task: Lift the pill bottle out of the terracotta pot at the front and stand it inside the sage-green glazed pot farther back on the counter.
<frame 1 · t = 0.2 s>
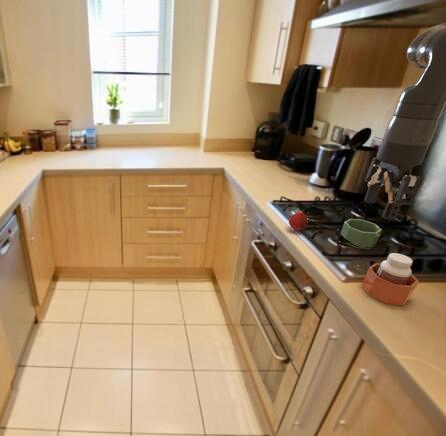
hand: (378, 210, 72), 25 cm above the worktop, tool pointing down, fingers open, 8 cm apart
pill bottle: (384, 292, 84), resting in terracotta pot
green pot: (356, 241, 107), on the worktop
terracotta pot: (384, 292, 84), on the worktop
onion: (295, 231, 114), on the worktop
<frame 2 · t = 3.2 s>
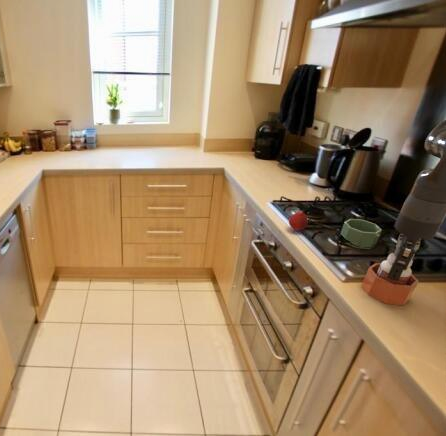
hand: (394, 272, 81), 7 cm above the worktop, tool pointing down, fingers closed on pill bottle, 6 cm apart
pill bottle: (384, 292, 84), resting in terracotta pot, touching gripper
everything else where it was.
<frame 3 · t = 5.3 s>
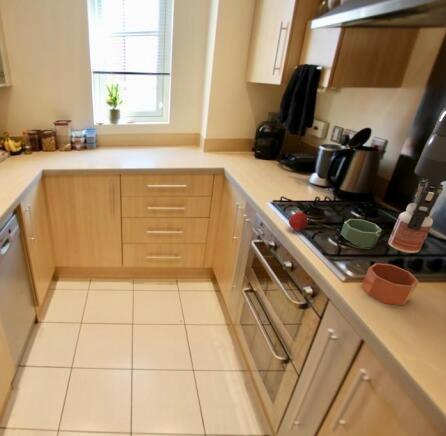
hand: (413, 223, 76), 20 cm above the worktop, tool pointing down, fingers closed on pill bottle, 6 cm apart
pill bottle: (402, 247, 79), point 13 cm above the worktop, touching gripper
everything else where it was.
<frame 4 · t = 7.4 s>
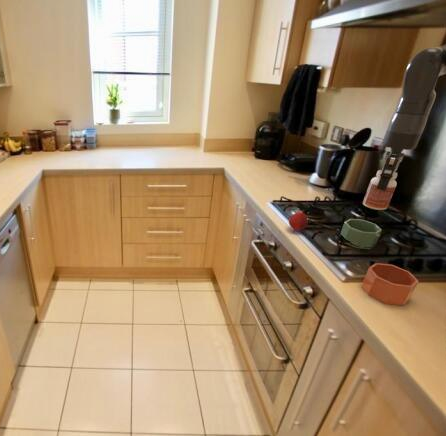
hand: (382, 186, 94), 21 cm above the worktop, tool pointing down, fingers closed on pill bottle, 6 cm apart
pill bottle: (373, 206, 98), point 14 cm above the worktop, touching gripper
everything else where it was.
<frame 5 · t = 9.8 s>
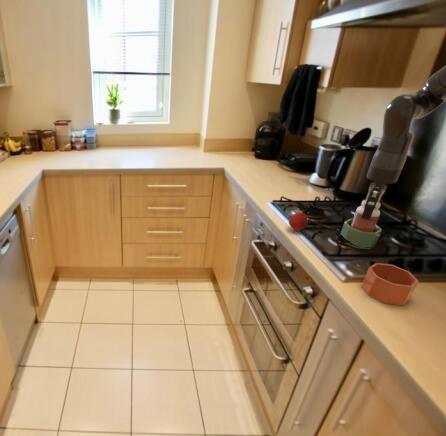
hand: (367, 214, 102), 10 cm above the worktop, tool pointing down, fingers closed on pill bottle, 6 cm apart
pill bottle: (359, 233, 105), point 3 cm above the worktop, touching gripper
everything else where it was.
when the fingers open (7 cm above the worktop, at t = 11.5 s): pill bottle stays where it is, resting in green pot.
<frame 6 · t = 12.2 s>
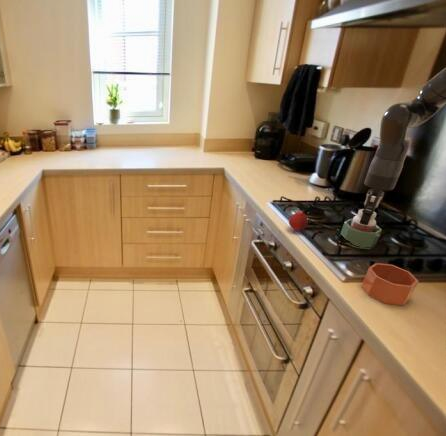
hand: (365, 219, 103), 8 cm above the worktop, tool pointing down, fingers open, 8 cm apart
pill bottle: (356, 241, 107), resting in green pot
everything else where it was.
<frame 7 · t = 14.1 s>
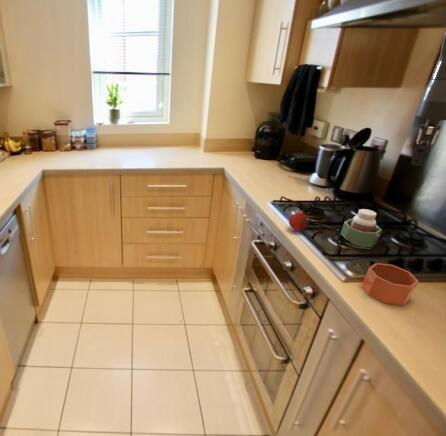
hand: (416, 161, 86), 30 cm above the worktop, tool pointing down, fingers open, 8 cm apart
nothing on the worktop moved.
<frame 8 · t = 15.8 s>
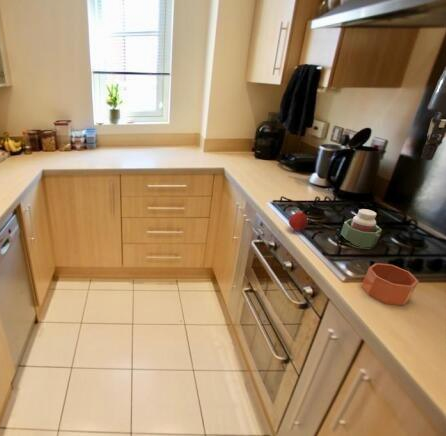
hand: (426, 155, 84), 32 cm above the worktop, tool pointing down, fingers open, 8 cm apart
nothing on the worktop moved.
at the end: pill bottle 0.1 cm off-centre on the green pot, point 0.0 cm above the green pot's base; pill bottle tilted 0°; the gripper is holding nothing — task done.
